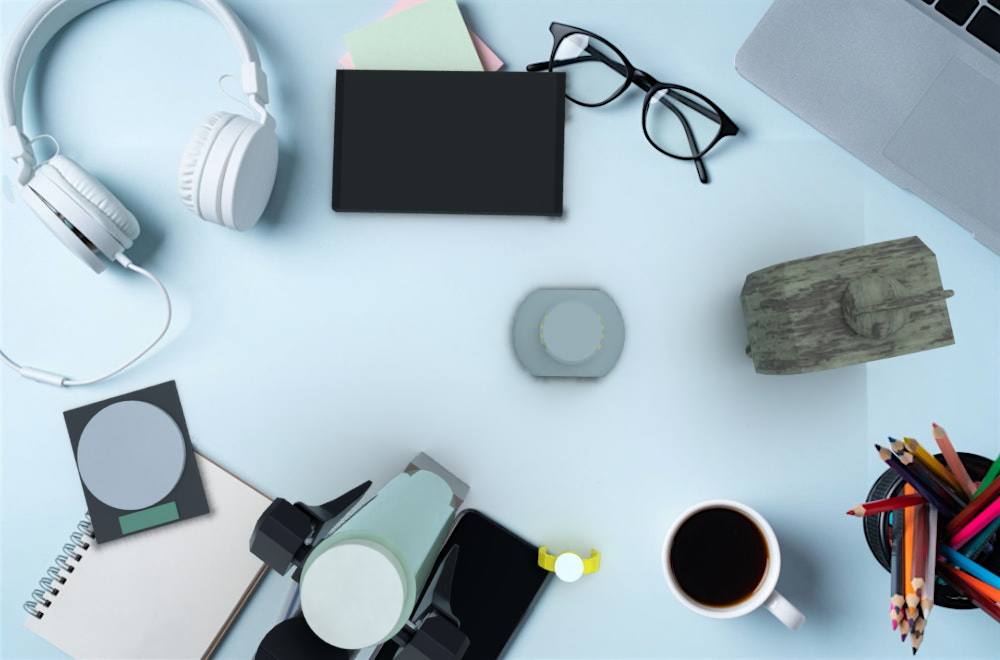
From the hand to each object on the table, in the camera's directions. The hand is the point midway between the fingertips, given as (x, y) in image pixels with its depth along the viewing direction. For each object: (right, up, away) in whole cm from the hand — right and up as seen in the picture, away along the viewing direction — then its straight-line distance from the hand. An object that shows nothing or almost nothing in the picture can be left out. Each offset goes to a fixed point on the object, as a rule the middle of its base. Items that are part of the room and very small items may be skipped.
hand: (412, 514), depth 67 cm
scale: (-30, +2, +14) cm, 33 cm away
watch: (+14, -7, +12) cm, 20 cm away
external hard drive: (+3, +35, +14) cm, 37 cm away
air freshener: (+14, +15, +13) cm, 25 cm away
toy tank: (+37, +17, +12) cm, 43 cm away
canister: (0, 0, +3) cm, 4 cm away
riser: (0, -1, +12) cm, 13 cm away
